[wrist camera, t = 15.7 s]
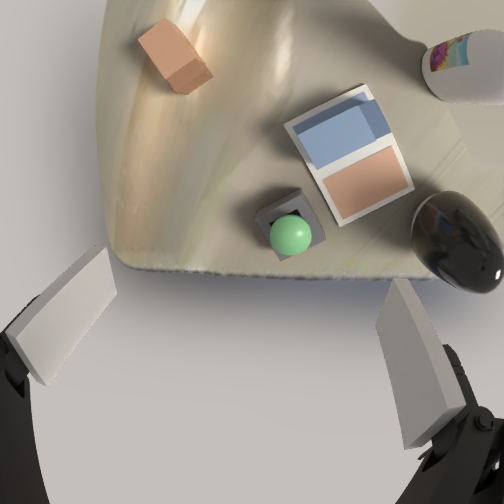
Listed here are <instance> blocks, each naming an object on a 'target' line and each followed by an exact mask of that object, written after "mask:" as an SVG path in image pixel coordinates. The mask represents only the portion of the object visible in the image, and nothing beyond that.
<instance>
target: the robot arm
mask: <svg viewBox="0 0 504 504" xmlns="http://www.w3.org/2000/svg"><path fill="white" fill-rule="evenodd" d="M116 294H117V291H116V287H115V283H114V279H113V274H112V270H111V265H110V261H109V256H108V251H107V247H105V246H97V245H95V246H93V247H92V248H91V249H90V250H89V251H87V252H86V253H85V254H84V255H83V256H82V257H80V258H79V259H78V260H77V261H76V262H75V263H74V264H72V265H71V266H70V267H69V268H68V269H67V270H66V271H65V272H64V273H62V274H61V275H60V276H59V277H58V278H57V279H56V280H55V281H54V282H53V283H52V284H51V285H50V286H49V287H48V288H46V289H45V290H44V291H43V292H42V293H41V294H40V295H38V296H36V297H35V298H34V299H32V300H31V302H30V303H28V304H27V307H24V309H23V310H22V311H21V313H19V314H18V315H17V316H16V317H15V318H14V319H13V320H12V321H11V322H10V323H9V324H8V325H7V327H6V328H5V329H4V330H3V331H2V332H1V333H0V504H50V503H49V500H48V496H47V493H46V489H45V486H44V482H43V478H42V474H41V470H40V466H39V460H38V455H37V450H36V444H35V438H34V431H33V423H32V413H31V401H30V384H29V383H30V382H29V379H28V377H27V374H28V373H29V372H30V373H31V375H32V376H33V377H34V379H35V380H36V381H37V382H39V383H40V384H42V385H44V386H46V387H49V385H50V384H51V382H52V381H53V379H54V378H55V376H56V375H57V373H58V372H59V370H60V368H61V367H62V366H63V364H64V363H65V362H66V360H67V359H68V357H69V356H70V355H71V353H72V352H73V350H74V349H75V347H76V346H77V345H78V343H79V342H80V341H81V339H82V338H83V337H84V335H85V334H86V333H87V331H88V330H89V329H90V327H91V326H92V325H93V323H94V322H95V321H96V320H97V318H98V317H99V316H100V314H101V313H102V312H103V311H104V309H105V308H106V306H107V305H108V304H109V303H110V302H111V300H112V299H113V298H114V297H115V296H116ZM375 326H376V330H377V333H378V336H379V340H380V343H381V347H382V350H383V354H384V358H385V361H386V365H387V369H388V373H389V377H390V380H391V385H392V389H393V394H394V398H395V403H396V407H397V412H398V417H399V422H400V427H401V433H402V438H403V444H404V450H405V449H412V448H417V447H422V446H423V445H425V444H426V443H427V442H428V441H429V440H432V445H433V446H432V447H430V448H429V449H428V450H427V451H425V452H424V453H423V454H422V455H421V456H420V457H419V458H418V460H421V459H422V458H423V457H424V459H423V461H422V463H421V465H420V466H419V468H418V470H417V472H416V473H415V475H414V476H413V478H412V480H411V481H410V483H409V484H408V486H407V487H406V489H405V490H404V492H403V493H402V495H401V496H400V498H399V499H398V501H397V502H396V503H395V504H504V419H500V418H494V416H493V414H492V412H491V411H490V410H488V409H487V408H485V407H482V406H478V404H477V401H476V399H475V396H474V393H473V391H472V388H471V386H470V383H469V381H468V378H467V376H466V375H465V372H464V369H463V367H462V366H461V362H460V360H459V358H458V356H457V354H456V353H455V351H454V350H453V349H452V348H451V347H450V346H449V345H448V344H447V345H442V344H441V342H440V339H439V337H438V335H437V333H436V331H435V329H434V327H433V325H432V323H431V321H430V319H429V317H428V315H427V313H426V311H425V309H424V307H423V306H422V304H421V302H420V300H419V298H418V296H417V295H416V293H415V291H414V289H413V287H412V285H411V284H410V282H409V280H408V279H401V278H393V280H392V283H391V286H390V289H389V291H388V294H387V297H386V299H385V302H384V305H383V308H382V310H381V313H380V315H379V318H378V320H377V323H376V325H375ZM498 461H499V468H498V469H495V465H496V463H497V462H498Z"/></svg>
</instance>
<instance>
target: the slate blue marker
mask: <svg viewBox="0 0 504 504" xmlns="http://www.w3.org/2000/svg"><path fill="white" fill-rule="evenodd" d="M389 133H391V130H390V128H389V126H388V124H387V122H386V120H385V118H384V116H383V114H382V112H381V110H380V108H379V106H378V104H377V102H376V100H375V99H372V100H368V101H365V102H362V103H360V104H358V105H356V106H353V107H349V108H347V109H345V110H343V111H341V112H339V113H337V114H335V115H333V116H330V117H328V118H326V119H324V120H322V121H320V122H318V123H316V124H314V125H313V126H311V127H309V128H307V129H305V130H303V131H301V132H299V133H297V136H298V138H299V139H300V141H301V143H302V144H303V146H304V148H305V150H306V151H307V153H308V155H309V157H310V158H311V160H312V162H313V164H314V165H315V167H316V169H317V170H318V169H320V168H322V167H324V166H326V165H328V164H330V163H332V162H334V161H336V160H338V159H340V158H342V157H344V156H346V155H348V154H350V153H352V152H354V151H356V150H358V149H360V148H362V147H364V146H366V145H369V144H371V143H373V142H375V141H376V139H378V138H380V137H383V136H385V135H387V134H389Z"/></svg>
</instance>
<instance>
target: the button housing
mask: <svg viewBox="0 0 504 504" xmlns="http://www.w3.org/2000/svg"><path fill="white" fill-rule="evenodd" d="M284 215H297V216H299V217H301V218H303V219H304V220H305V221H306V222H307V223H308V224H309V226H310V229H311V242H310V245H309V246H308V248H310V247H312V246H314V245H316V244H318V243H320V242H322V241H324V240H326V237H325V234H324V230H323V228H322V226H321V224H320V222H319V220H318V219H317V217H316V215H315V213H314V211H313V209H312V208H311V206H310V204H309V202H308V200H307V198H306V197H305V195H304V193H303V191H302V190H301V188H300V189H298V190H296V191H294V192H292V193H290V194H288V195H286V196H285V197H283V198H281V199H279V200H277V201H275V202H273V203H271V204H270V205H268V206H266V207H264V208H262V209H260V210H258V211H257V213H256V216H255V219H254V220H255V221H256V223H257V225H258V226H259V228H260V229H261V231H262V232H263V234H264V236H265V237H266V239H267V240H268V242H269V244H270V245H271V247H272V248H273V250H274V252H275V253H276V255H277V256H278V258H279V260H280V261H282V260H284V259H287V258H289V257H291V256H293V255H284V254H282V253H280V252H278V251H277V250H276V249H275V248H274V247H273V245H272V244H271V241H270V231H271V227H272V225H273V223H274V222H275V221H276V220H277V219H278V218H280V217H282V216H284Z"/></svg>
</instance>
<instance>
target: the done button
mask: <svg viewBox="0 0 504 504" xmlns="http://www.w3.org/2000/svg"><path fill="white" fill-rule="evenodd" d="M270 241H271V244H272V245H273V247H274V248H275V249H276V250H277V251H278V252H280V253H282V254H284V255H297V254H300V253H302V252H303V251H305V250H306V249H307V248H308V246H309V245H310V242H311V229H310V226H309V224H308V223H307V222H306V221H305V220H304V219H303V218H301V217H299V216H297V215H284V216H282V217H280V218H278V219H277V220H276V221H275V222H274V223H273V225H272V227H271V231H270Z"/></svg>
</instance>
